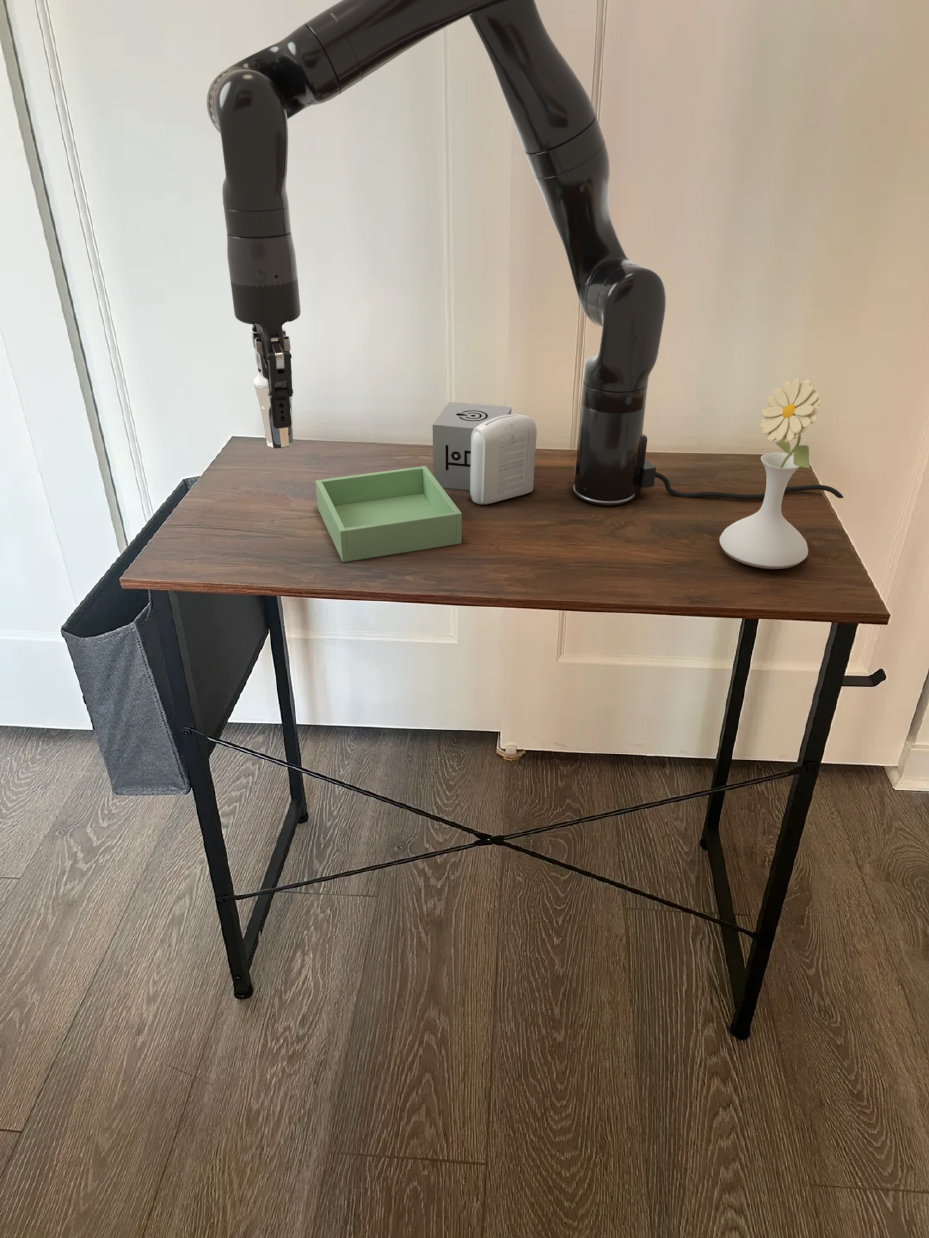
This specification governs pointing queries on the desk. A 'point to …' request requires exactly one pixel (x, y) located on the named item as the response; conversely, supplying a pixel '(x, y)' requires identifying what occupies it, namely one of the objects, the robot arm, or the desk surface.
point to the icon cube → (458, 441)
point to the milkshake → (272, 434)
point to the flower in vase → (776, 483)
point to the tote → (388, 513)
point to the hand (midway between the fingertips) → (279, 419)
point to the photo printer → (502, 458)
